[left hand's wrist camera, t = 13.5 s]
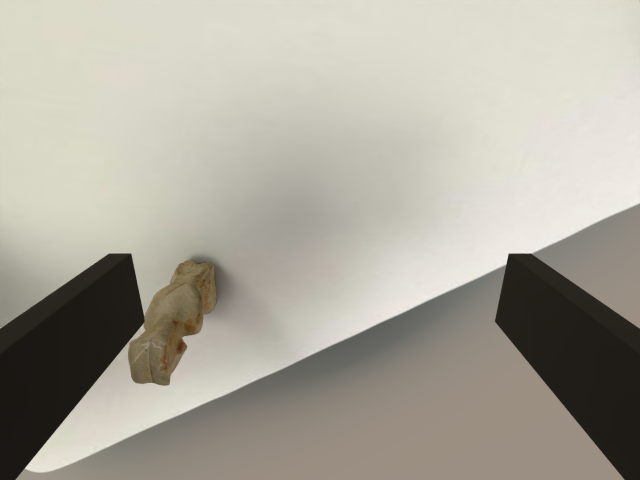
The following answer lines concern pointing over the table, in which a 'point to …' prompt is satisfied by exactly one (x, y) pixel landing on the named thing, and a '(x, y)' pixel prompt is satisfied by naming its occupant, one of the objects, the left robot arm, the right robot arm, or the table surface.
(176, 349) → the sculpture
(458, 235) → the table surface
